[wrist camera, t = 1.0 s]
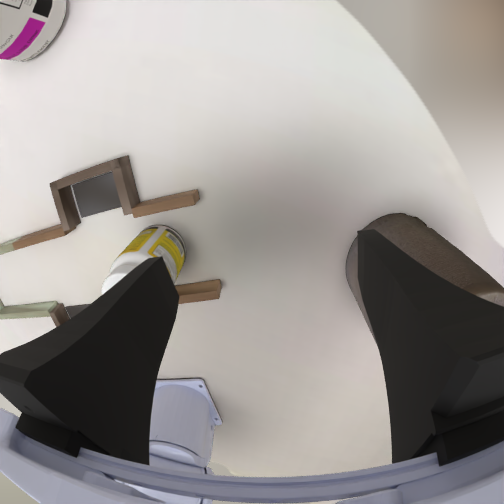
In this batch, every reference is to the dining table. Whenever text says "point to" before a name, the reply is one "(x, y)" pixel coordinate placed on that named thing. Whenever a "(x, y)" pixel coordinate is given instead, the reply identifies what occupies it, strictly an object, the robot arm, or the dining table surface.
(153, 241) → the supplement bottle
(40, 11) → the supplement can
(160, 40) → the dining table surface
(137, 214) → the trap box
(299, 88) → the dining table surface
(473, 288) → the pillar candle
